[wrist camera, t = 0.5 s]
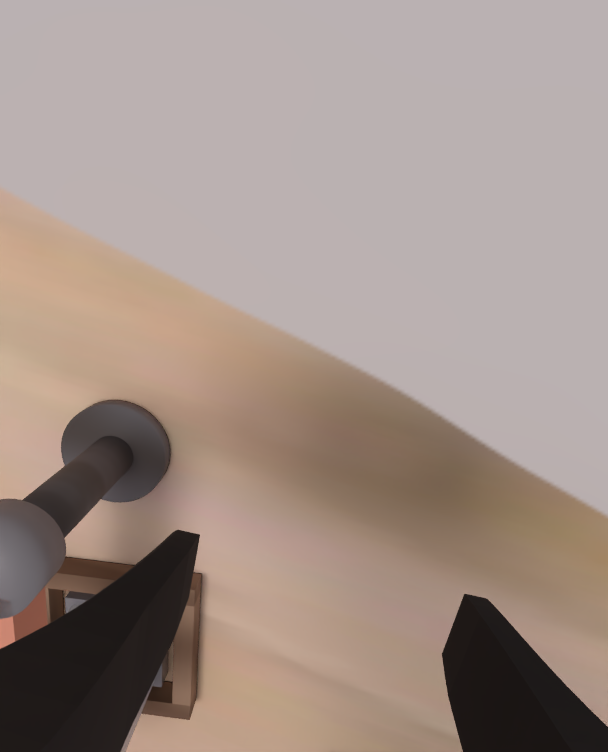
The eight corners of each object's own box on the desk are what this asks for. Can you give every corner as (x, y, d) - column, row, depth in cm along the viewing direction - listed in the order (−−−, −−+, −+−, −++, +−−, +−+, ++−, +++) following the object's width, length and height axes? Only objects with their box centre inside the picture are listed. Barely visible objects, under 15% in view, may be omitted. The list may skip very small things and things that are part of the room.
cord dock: (195, 699, 26) (147, 860, 19) (50, 680, 26) (-49, 832, 19) (208, 410, 21) (150, 484, 15) (31, 390, 22) (-109, 454, 15)
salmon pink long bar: (81, 863, 19) (59, 916, 18) (7, 852, 19) (-21, 905, 18) (63, 504, 15) (32, 534, 13) (-33, 493, 15) (-76, 521, 13)
